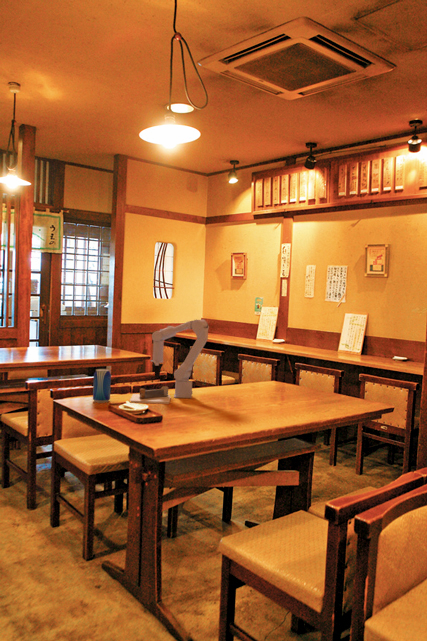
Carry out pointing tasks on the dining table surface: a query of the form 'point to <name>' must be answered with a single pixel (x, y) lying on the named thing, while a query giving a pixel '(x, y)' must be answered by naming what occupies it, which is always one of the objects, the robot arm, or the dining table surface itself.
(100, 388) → the beer can
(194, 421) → the dining table surface
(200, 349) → the robot arm
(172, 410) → the dining table surface
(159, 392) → the lever
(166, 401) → the board
